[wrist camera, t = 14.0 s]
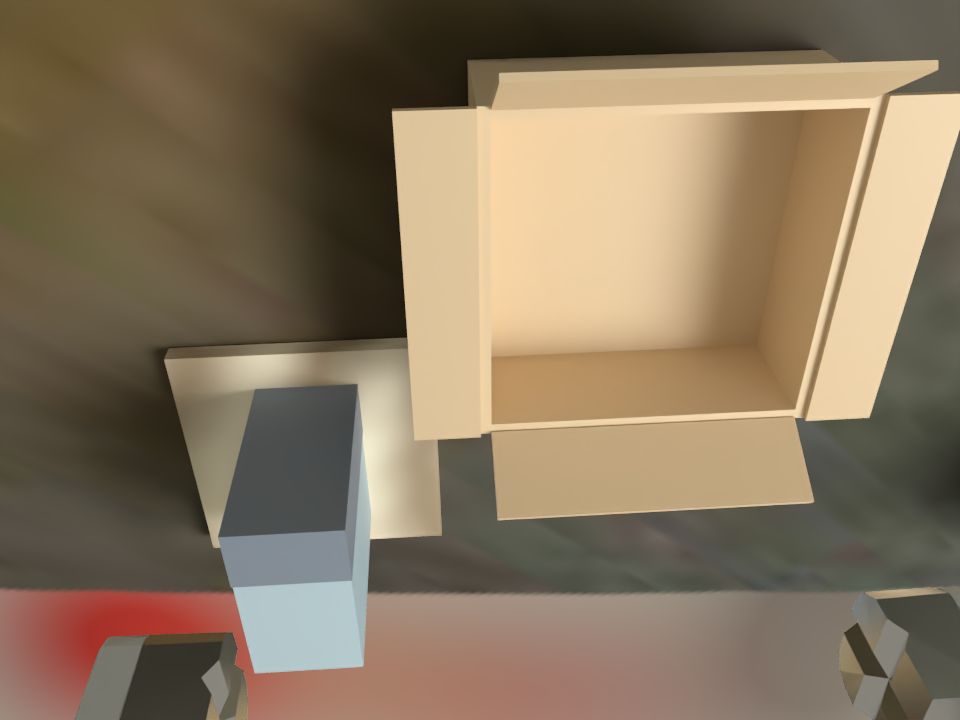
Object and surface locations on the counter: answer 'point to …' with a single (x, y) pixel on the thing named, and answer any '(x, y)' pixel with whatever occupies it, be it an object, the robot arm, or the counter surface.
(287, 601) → the slate-blue box
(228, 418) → the birch board
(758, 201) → the carton
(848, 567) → the counter surface
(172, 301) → the counter surface
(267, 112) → the counter surface
